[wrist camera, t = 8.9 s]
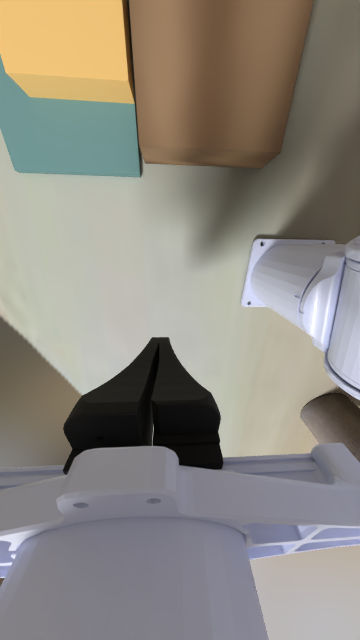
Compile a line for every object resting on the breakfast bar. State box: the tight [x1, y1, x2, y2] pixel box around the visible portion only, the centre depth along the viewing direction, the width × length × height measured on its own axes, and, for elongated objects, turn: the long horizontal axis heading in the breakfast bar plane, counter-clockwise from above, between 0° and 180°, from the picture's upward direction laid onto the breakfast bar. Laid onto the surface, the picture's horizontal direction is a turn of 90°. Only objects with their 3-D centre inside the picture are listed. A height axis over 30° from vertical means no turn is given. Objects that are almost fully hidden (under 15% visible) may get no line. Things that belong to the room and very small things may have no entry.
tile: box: [0, 0, 135, 104], centre depth 10 cm, size 8×6×2 cm
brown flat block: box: [129, 0, 314, 168], centre depth 11 cm, size 11×12×3 cm
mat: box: [0, 0, 141, 177], centre depth 11 cm, size 11×14×1 cm
